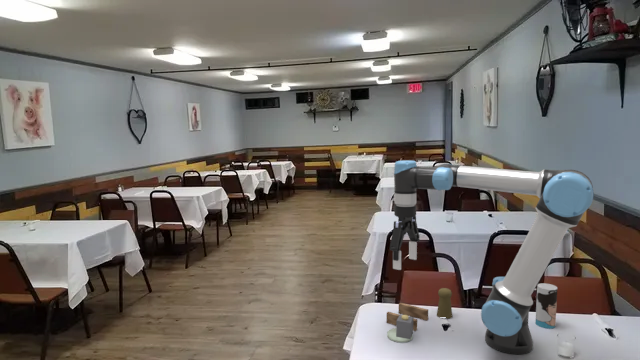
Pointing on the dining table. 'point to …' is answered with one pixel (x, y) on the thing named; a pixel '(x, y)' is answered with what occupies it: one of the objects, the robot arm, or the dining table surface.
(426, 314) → the guide channel
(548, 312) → the cup
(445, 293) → the cork
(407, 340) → the saucer
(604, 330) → the dining table surface
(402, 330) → the plug
